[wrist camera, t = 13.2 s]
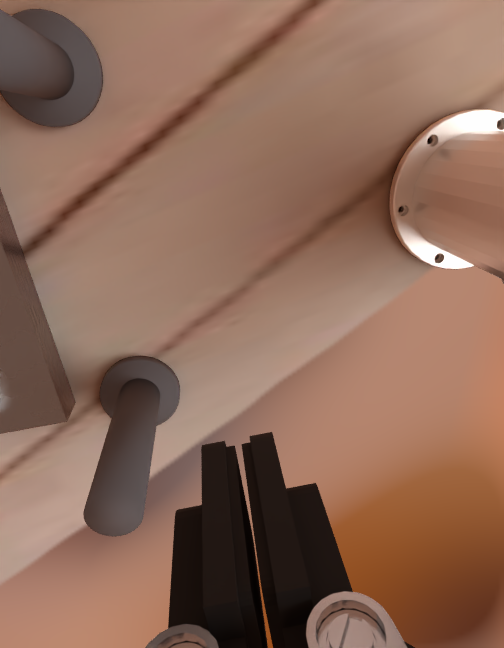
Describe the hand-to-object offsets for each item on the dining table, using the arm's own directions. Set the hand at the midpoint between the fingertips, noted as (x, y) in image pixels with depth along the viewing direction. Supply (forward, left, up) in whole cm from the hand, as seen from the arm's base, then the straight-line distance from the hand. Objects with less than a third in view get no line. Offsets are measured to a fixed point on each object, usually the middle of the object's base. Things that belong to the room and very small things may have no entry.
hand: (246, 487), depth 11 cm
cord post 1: (+16, 0, -29) cm, 33 cm away
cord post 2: (-6, +15, -29) cm, 33 cm away
